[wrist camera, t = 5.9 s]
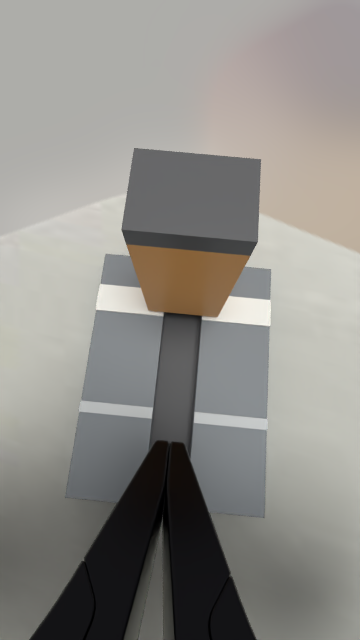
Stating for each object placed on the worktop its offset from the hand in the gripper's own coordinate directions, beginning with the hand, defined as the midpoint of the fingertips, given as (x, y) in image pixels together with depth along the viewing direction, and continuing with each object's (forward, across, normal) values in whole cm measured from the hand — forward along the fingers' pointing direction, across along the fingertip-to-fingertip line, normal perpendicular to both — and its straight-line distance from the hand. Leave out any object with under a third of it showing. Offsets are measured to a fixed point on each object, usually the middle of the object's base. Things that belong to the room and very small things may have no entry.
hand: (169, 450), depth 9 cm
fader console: (+7, 0, +3) cm, 8 cm away
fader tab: (+10, 0, 0) cm, 10 cm away
